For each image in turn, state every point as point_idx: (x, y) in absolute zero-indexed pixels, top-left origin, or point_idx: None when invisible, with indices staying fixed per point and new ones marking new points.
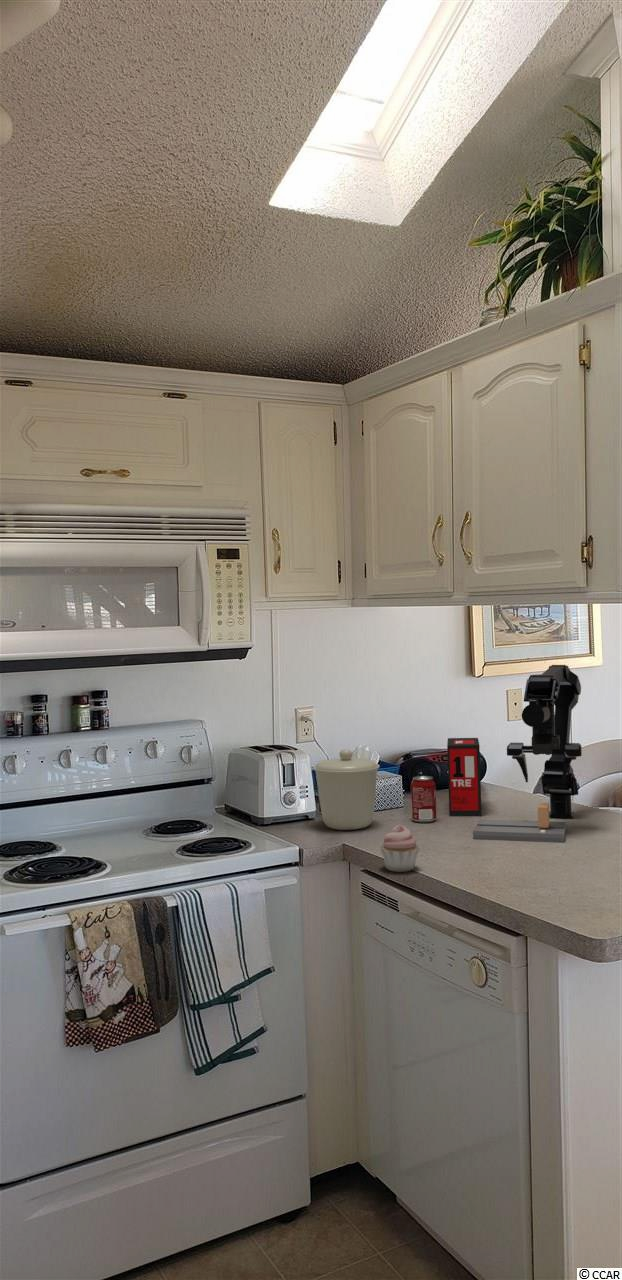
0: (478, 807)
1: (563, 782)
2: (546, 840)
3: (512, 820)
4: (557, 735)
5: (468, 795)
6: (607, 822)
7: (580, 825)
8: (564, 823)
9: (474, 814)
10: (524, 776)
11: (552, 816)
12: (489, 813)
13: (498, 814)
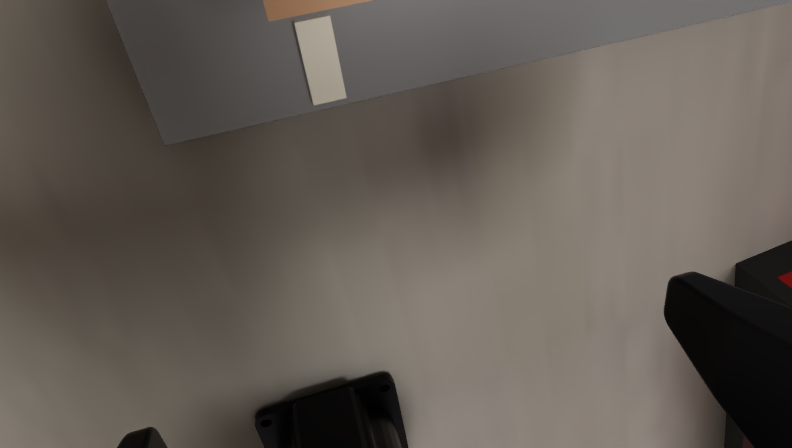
0: (789, 288)
1: (133, 435)
2: None
3: (588, 45)
4: None
5: None
6: (9, 423)
7: (133, 288)
8: (150, 85)
9: (778, 255)
10: (782, 305)
11: (368, 382)
12: None
13: (651, 333)
